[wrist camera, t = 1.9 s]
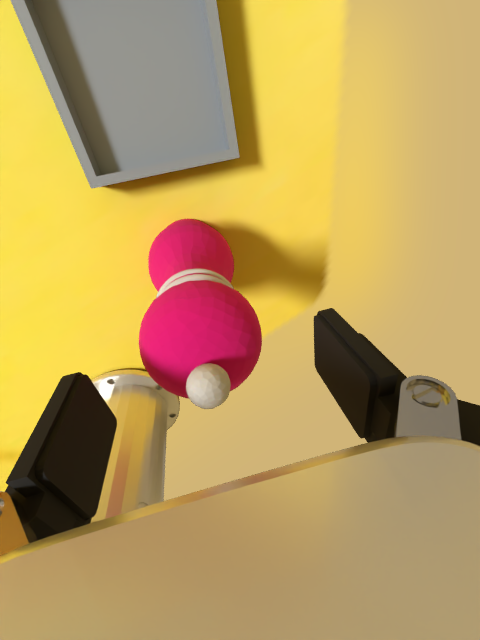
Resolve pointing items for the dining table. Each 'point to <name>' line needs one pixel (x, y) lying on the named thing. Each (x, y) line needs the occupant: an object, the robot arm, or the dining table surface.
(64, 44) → the tray
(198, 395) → the pepper mill
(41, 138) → the dining table surface
